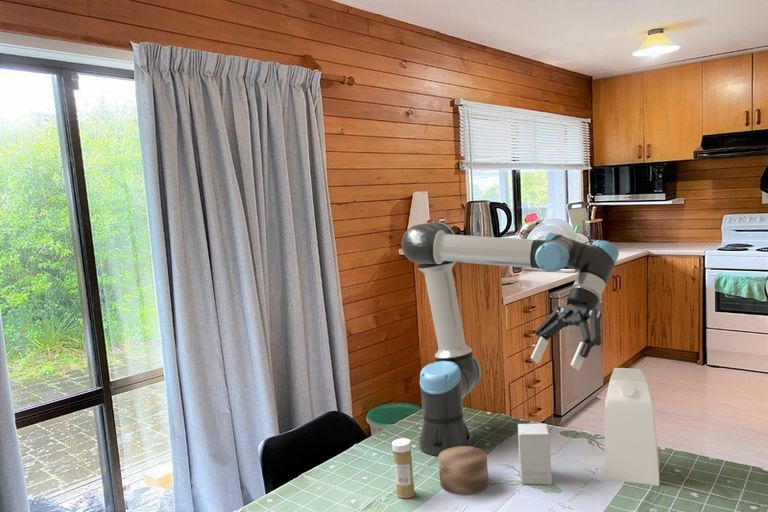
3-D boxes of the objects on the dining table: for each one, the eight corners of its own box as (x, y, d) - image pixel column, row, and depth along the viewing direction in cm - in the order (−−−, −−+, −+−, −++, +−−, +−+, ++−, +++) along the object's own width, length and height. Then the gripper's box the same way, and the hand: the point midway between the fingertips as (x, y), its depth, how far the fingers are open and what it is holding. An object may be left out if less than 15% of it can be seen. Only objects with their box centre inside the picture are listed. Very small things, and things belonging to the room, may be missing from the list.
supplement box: (552, 485, 139) (549, 434, 138) (521, 484, 141) (517, 434, 140) (550, 471, 147) (547, 422, 146) (520, 470, 148) (517, 422, 147)
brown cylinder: (431, 480, 147) (429, 453, 147) (470, 468, 152) (468, 442, 152) (457, 500, 136) (454, 471, 136) (498, 486, 141) (496, 458, 141)
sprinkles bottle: (418, 491, 141) (413, 438, 140) (410, 500, 137) (405, 446, 136) (401, 488, 144) (397, 436, 143) (393, 497, 140) (388, 443, 139)
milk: (658, 464, 145) (654, 363, 143) (659, 485, 135) (654, 377, 133) (608, 459, 150) (602, 361, 148) (604, 479, 140) (599, 374, 138)
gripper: (634, 303, 143) (602, 379, 137) (558, 299, 165) (528, 365, 158) (617, 286, 140) (584, 363, 134) (542, 285, 162) (510, 351, 155)
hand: (553, 364), depth 146 cm, fingers open, 13 cm apart
